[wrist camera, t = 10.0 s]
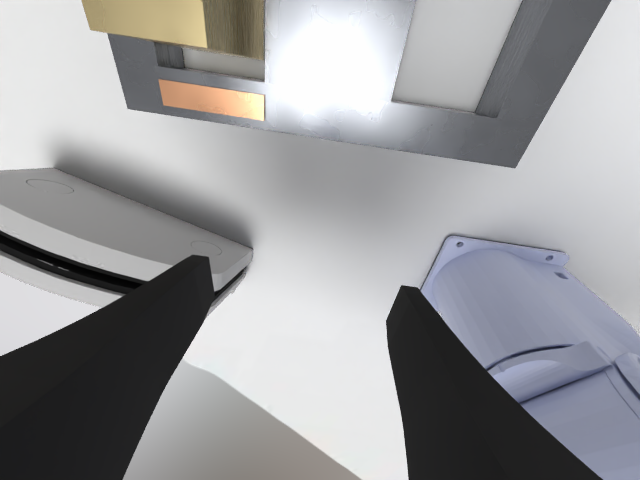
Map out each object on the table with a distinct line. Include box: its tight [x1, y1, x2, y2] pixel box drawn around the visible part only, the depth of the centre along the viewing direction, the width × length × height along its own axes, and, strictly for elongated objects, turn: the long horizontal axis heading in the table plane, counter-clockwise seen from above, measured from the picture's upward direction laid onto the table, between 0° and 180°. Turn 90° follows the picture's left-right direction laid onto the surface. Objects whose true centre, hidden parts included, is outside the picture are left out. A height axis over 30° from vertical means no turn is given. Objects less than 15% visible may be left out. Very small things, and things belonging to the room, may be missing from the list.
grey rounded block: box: [0, 168, 253, 317], centre depth 18 cm, size 17×5×10 cm, turn 65°
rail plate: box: [107, 0, 611, 168], centre depth 12 cm, size 22×10×3 cm, turn 83°
